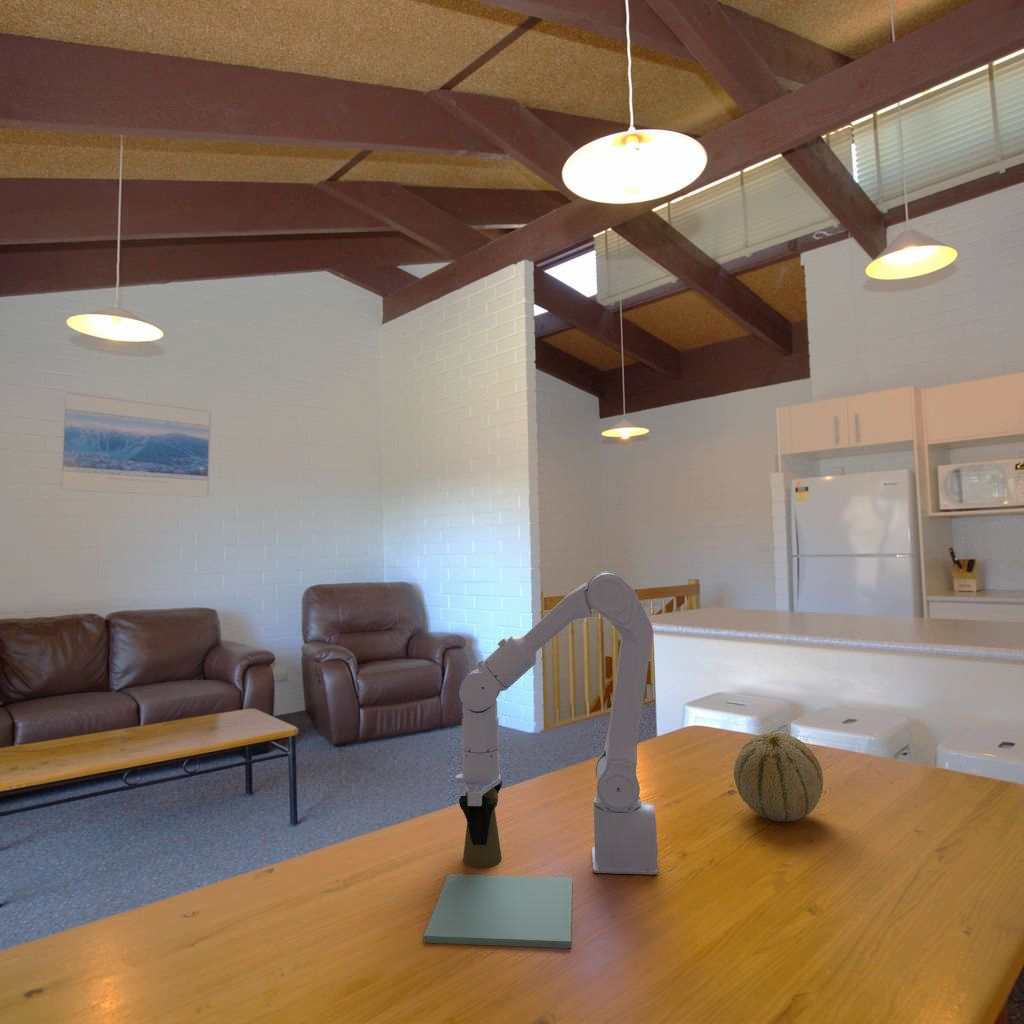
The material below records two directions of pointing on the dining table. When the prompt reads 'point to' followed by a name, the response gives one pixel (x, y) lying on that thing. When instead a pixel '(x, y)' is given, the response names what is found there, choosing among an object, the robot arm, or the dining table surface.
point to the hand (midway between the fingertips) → (482, 836)
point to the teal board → (503, 911)
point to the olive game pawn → (491, 851)
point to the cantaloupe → (778, 777)
